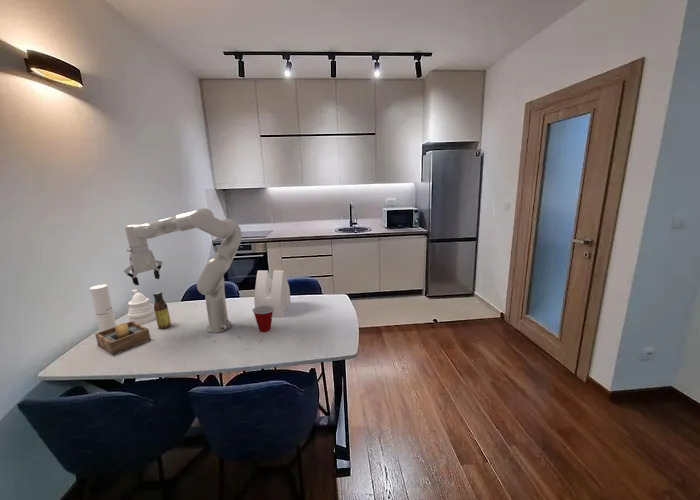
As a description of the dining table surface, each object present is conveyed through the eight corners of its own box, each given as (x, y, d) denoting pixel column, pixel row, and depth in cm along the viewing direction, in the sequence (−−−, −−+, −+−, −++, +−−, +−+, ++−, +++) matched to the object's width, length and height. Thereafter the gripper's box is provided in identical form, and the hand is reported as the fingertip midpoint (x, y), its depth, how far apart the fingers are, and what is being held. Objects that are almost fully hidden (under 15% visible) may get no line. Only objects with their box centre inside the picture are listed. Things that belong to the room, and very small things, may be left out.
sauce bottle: (173, 324, 166) (168, 291, 162) (163, 330, 161) (157, 295, 156) (165, 323, 169) (159, 290, 164) (154, 328, 163) (148, 294, 158)
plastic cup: (280, 328, 158) (278, 307, 155) (261, 336, 150) (259, 314, 148) (268, 322, 165) (266, 302, 162) (250, 330, 157) (248, 309, 155)
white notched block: (267, 303, 192) (263, 266, 186) (290, 303, 191) (287, 266, 185) (256, 317, 173) (251, 276, 168) (282, 317, 172) (278, 275, 167)
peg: (132, 338, 150) (129, 324, 148) (121, 343, 146) (117, 329, 144) (127, 336, 152) (124, 322, 150) (116, 341, 148) (112, 326, 146)
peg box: (150, 339, 151) (148, 328, 149) (112, 355, 138) (110, 343, 136) (134, 331, 161) (132, 320, 159) (97, 344, 148) (95, 333, 146)
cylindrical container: (119, 328, 164) (110, 285, 159) (104, 334, 158) (94, 289, 152) (112, 326, 167) (102, 283, 162) (97, 332, 161) (86, 288, 155)
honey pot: (124, 322, 171) (117, 293, 167) (146, 313, 183) (140, 285, 179) (139, 326, 166) (132, 295, 162) (160, 316, 178) (155, 288, 174)
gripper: (122, 253, 139) (131, 288, 142) (161, 245, 153) (168, 277, 157) (115, 252, 143) (124, 286, 146) (154, 244, 157) (161, 275, 161)
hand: (147, 281), depth 152 cm, fingers open, 9 cm apart
